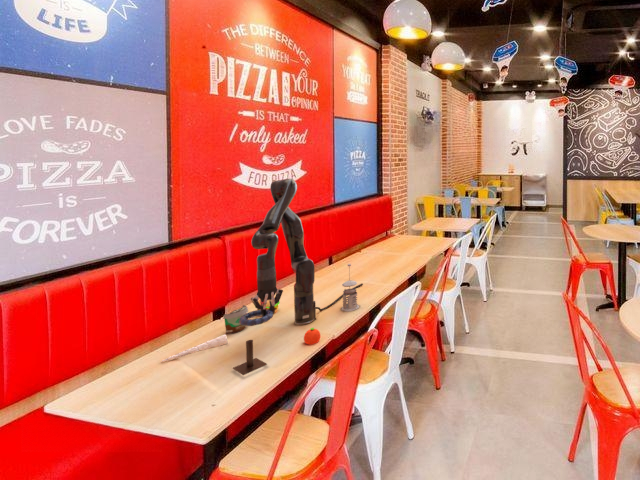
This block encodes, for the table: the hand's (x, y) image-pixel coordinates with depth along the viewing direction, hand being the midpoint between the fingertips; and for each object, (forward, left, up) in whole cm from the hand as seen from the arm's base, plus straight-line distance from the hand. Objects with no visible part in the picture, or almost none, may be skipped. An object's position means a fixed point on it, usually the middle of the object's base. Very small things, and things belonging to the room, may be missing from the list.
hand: (268, 315), depth 172 cm
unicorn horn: (+19, -22, -15) cm, 33 cm away
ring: (+5, 0, +1) cm, 5 cm away
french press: (-48, -7, -15) cm, 51 cm away
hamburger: (-21, -41, -15) cm, 49 cm away
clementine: (-13, +14, -15) cm, 24 cm away
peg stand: (+13, +12, -15) cm, 23 cm away
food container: (-2, -31, -15) cm, 35 cm away
